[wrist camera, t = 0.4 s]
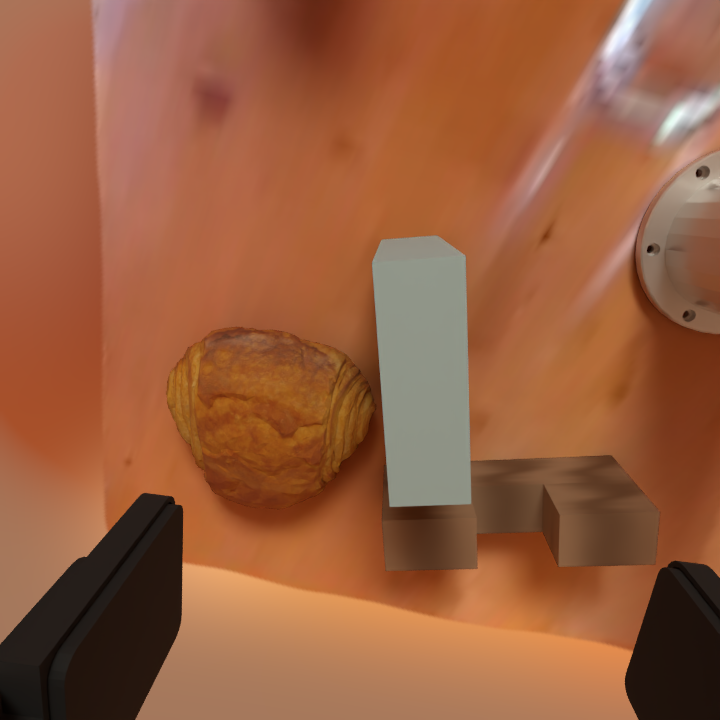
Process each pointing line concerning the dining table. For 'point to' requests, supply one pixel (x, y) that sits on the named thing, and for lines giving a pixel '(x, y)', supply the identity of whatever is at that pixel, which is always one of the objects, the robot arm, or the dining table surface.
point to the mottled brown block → (530, 516)
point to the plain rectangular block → (423, 370)
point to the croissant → (268, 413)
